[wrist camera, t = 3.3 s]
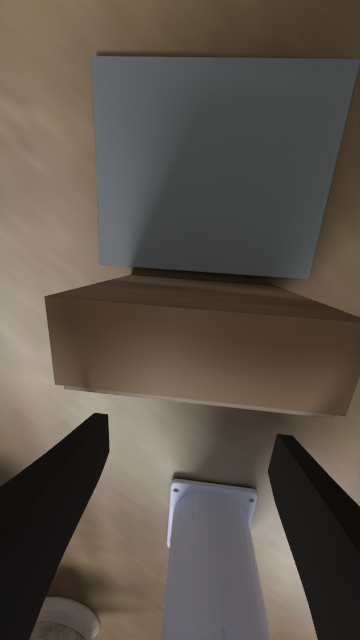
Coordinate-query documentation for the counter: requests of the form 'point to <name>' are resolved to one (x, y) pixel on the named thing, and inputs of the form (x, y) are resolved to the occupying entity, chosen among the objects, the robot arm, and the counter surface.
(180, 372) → the brown wooden block
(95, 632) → the mug
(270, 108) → the mat
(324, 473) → the robot arm
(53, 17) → the counter surface
